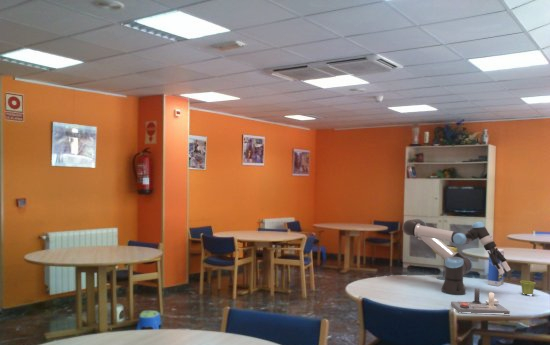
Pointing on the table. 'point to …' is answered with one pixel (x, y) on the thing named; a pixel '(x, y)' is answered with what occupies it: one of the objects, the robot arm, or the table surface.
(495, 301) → the rocker
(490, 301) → the cream tapered knob
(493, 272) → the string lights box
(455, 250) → the cocktail glass
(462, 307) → the panel
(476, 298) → the black lever
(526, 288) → the plant pot
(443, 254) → the robot arm
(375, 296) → the table surface
